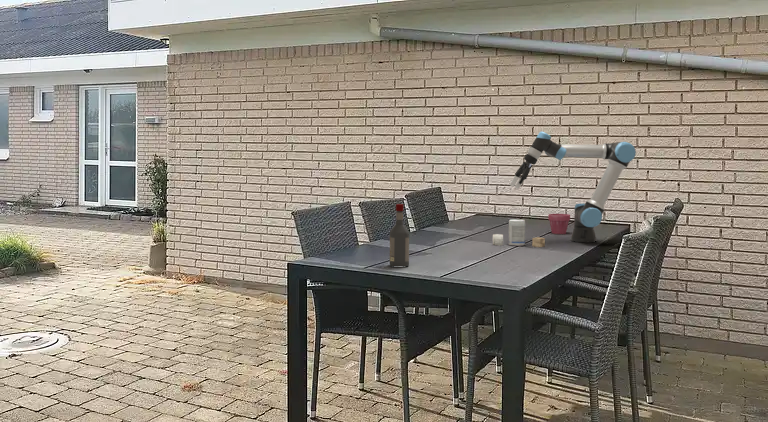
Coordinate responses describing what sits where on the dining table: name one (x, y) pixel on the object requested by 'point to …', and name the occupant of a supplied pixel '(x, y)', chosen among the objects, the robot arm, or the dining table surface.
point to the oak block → (538, 242)
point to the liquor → (399, 241)
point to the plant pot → (559, 223)
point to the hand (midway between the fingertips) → (513, 187)
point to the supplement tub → (517, 232)
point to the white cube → (498, 239)
